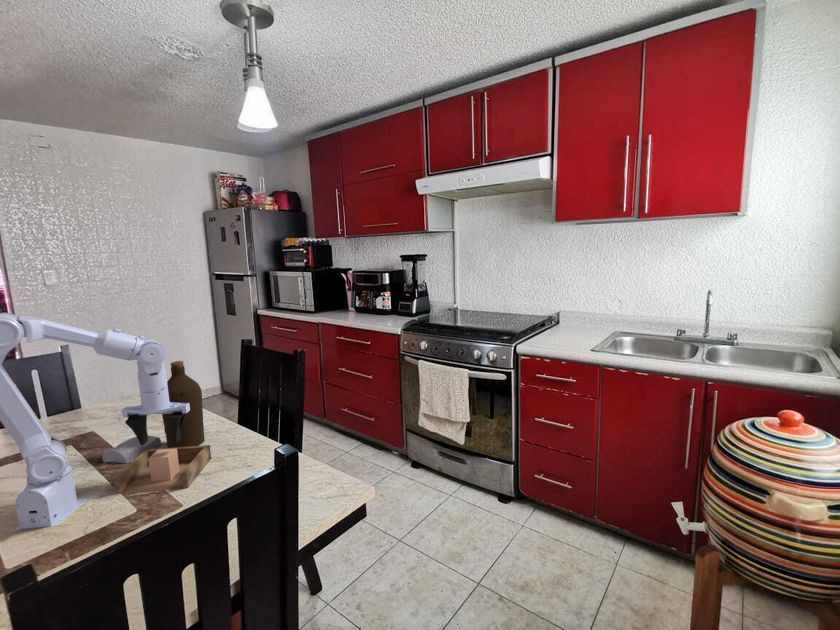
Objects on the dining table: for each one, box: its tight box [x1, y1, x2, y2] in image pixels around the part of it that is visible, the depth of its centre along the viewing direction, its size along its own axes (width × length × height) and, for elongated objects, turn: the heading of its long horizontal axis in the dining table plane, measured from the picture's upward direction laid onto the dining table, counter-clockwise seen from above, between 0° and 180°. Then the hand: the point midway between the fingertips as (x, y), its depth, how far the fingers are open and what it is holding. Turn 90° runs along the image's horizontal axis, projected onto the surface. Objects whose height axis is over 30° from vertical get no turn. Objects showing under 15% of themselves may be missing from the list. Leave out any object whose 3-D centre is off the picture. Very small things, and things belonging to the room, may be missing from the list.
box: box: [112, 444, 212, 495], centre depth 102 cm, size 14×16×4 cm
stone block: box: [101, 435, 162, 464], centre depth 115 cm, size 12×5×10 cm
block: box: [148, 448, 180, 482], centre depth 101 cm, size 4×4×6 cm
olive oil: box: [161, 360, 205, 448], centre depth 118 cm, size 11×11×25 cm
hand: (160, 442), depth 101 cm, fingers open, 7 cm apart
